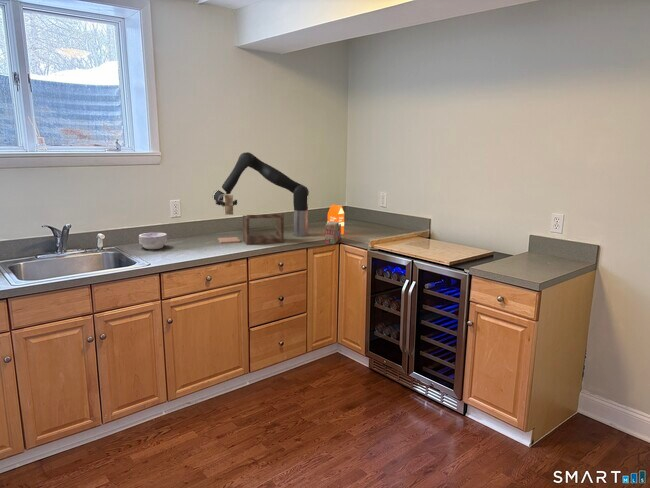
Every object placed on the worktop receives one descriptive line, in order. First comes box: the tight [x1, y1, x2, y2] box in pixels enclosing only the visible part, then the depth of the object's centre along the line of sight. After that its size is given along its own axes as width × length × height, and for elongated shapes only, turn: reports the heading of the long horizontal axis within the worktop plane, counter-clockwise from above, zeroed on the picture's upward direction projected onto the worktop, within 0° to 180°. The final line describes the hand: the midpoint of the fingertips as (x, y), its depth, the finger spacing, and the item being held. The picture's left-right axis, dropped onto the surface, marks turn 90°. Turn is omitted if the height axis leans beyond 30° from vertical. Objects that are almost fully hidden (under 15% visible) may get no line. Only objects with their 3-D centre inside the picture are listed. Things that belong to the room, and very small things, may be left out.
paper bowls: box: [138, 232, 168, 250], centre depth 280 cm, size 15×15×8 cm
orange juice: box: [326, 204, 345, 235], centre depth 333 cm, size 8×9×20 cm
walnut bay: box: [242, 213, 285, 246], centre depth 302 cm, size 23×12×18 cm, turn 111°
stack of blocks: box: [324, 221, 342, 245], centre depth 313 cm, size 21×6×12 cm, turn 167°
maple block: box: [223, 193, 234, 216], centre depth 299 cm, size 5×5×12 cm
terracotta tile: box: [217, 236, 241, 244], centre depth 304 cm, size 12×12×1 cm
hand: (229, 204), depth 297 cm, fingers closed on maple block, 5 cm apart
